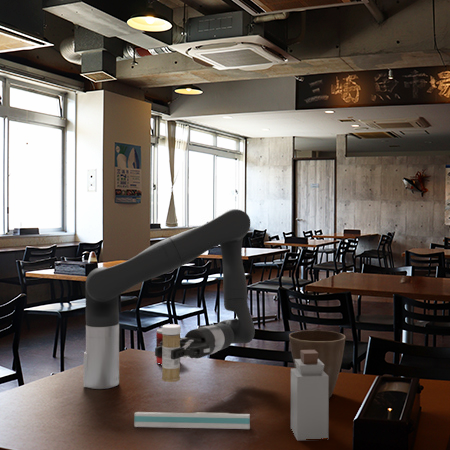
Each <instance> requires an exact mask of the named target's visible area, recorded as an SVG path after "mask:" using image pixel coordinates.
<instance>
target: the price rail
mask: <svg viewBox="0 0 450 450" xmlns="http://www.w3.org/2000/svg"><path fill="white" fill-rule="evenodd" d="M250 416H251V414H250V413H230V412H200V411H199V412H161V411H160V412H159V411H158V412H156V411H153V412H152V411H150V412H149V411H135V412H134V421H133V422H134V427H135V428H137V427H138V428H172V429H173V428H179V429H182V428H183V429H184V428H185V429H188V428H189V429H228V430H229V429H232V430H233V429H237V430H250V429H251V425H250V423H251V422H250V421H251V420H250V419H251V418H250Z"/></svg>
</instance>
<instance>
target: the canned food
mask: <svg viewBox="0 0 450 450" xmlns="http://www.w3.org/2000/svg"><path fill="white" fill-rule="evenodd" d="M155 336H156V337H155V338H156V339H155V340H156V341H155V343H156V347H159V346H160V342H161V341H163V334H162V327H160V328H157V329H156V333H155ZM156 347H155V348H156ZM155 357H156V360H155V361H156V364H157V363H160V364H162V356H159V357H158V356H155Z"/></svg>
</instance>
